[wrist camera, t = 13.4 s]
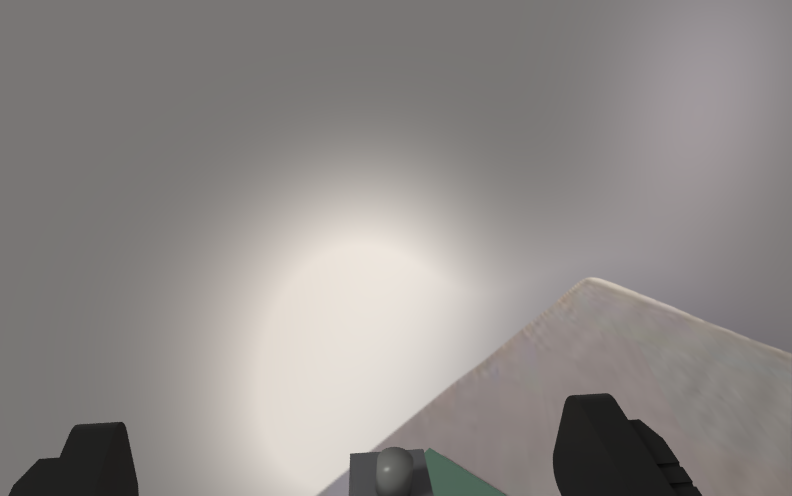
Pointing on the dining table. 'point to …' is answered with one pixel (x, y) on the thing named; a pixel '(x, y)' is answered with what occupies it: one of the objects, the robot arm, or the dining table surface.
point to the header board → (454, 478)
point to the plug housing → (389, 473)
